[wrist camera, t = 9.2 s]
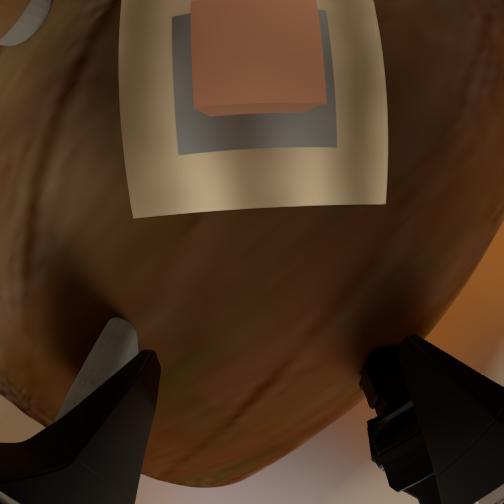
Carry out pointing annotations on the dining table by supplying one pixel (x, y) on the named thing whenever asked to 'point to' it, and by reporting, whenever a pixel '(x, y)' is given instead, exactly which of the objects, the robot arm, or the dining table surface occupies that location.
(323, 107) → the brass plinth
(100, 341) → the hip flask
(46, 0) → the coffee cup
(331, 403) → the dining table surface
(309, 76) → the terracotta cube
